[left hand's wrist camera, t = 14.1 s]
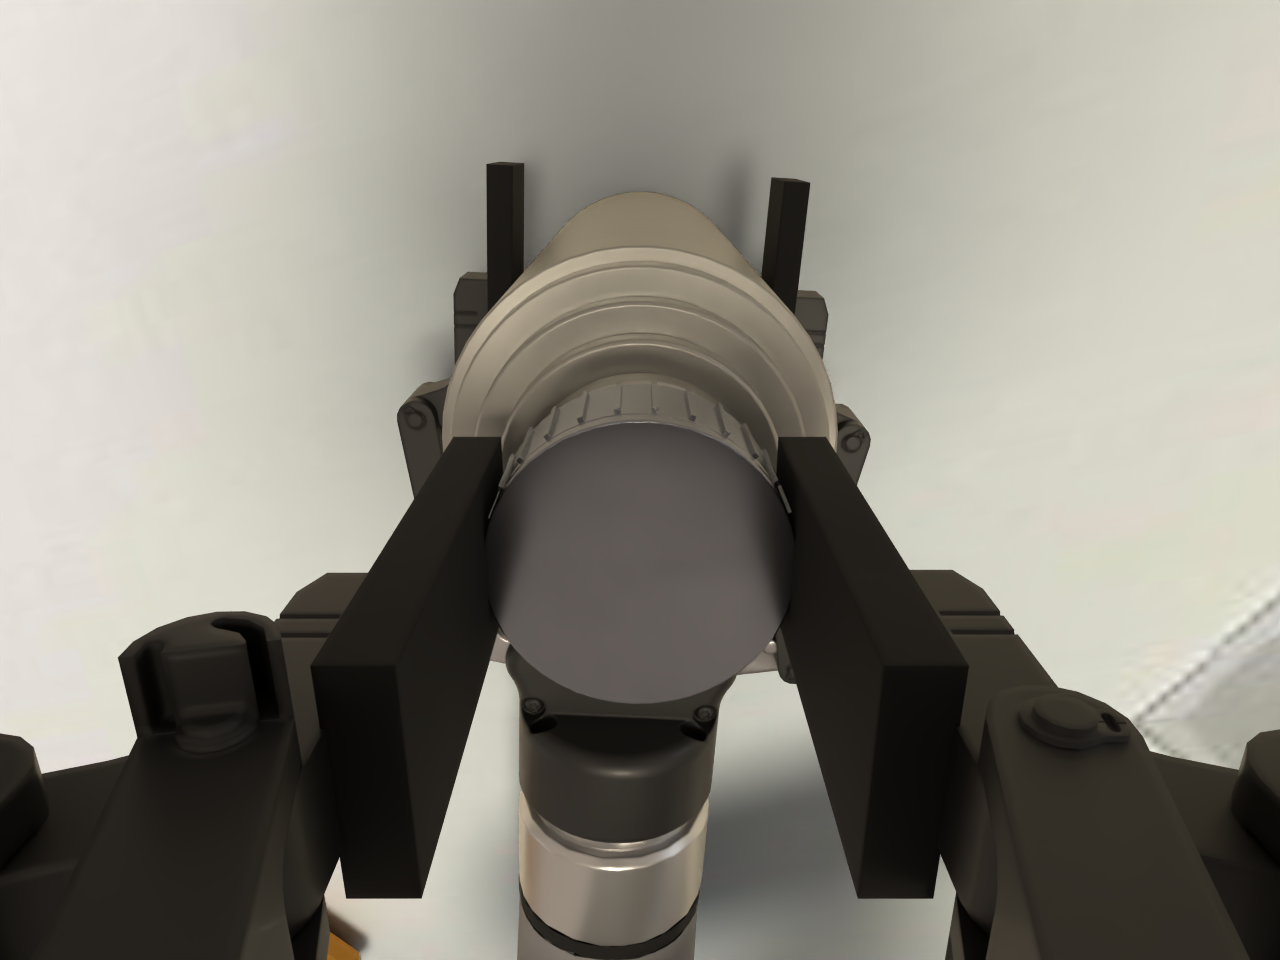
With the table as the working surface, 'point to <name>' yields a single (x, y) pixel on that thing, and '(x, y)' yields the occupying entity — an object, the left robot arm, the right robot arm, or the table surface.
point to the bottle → (639, 330)
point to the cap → (639, 546)
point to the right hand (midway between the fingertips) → (648, 172)
